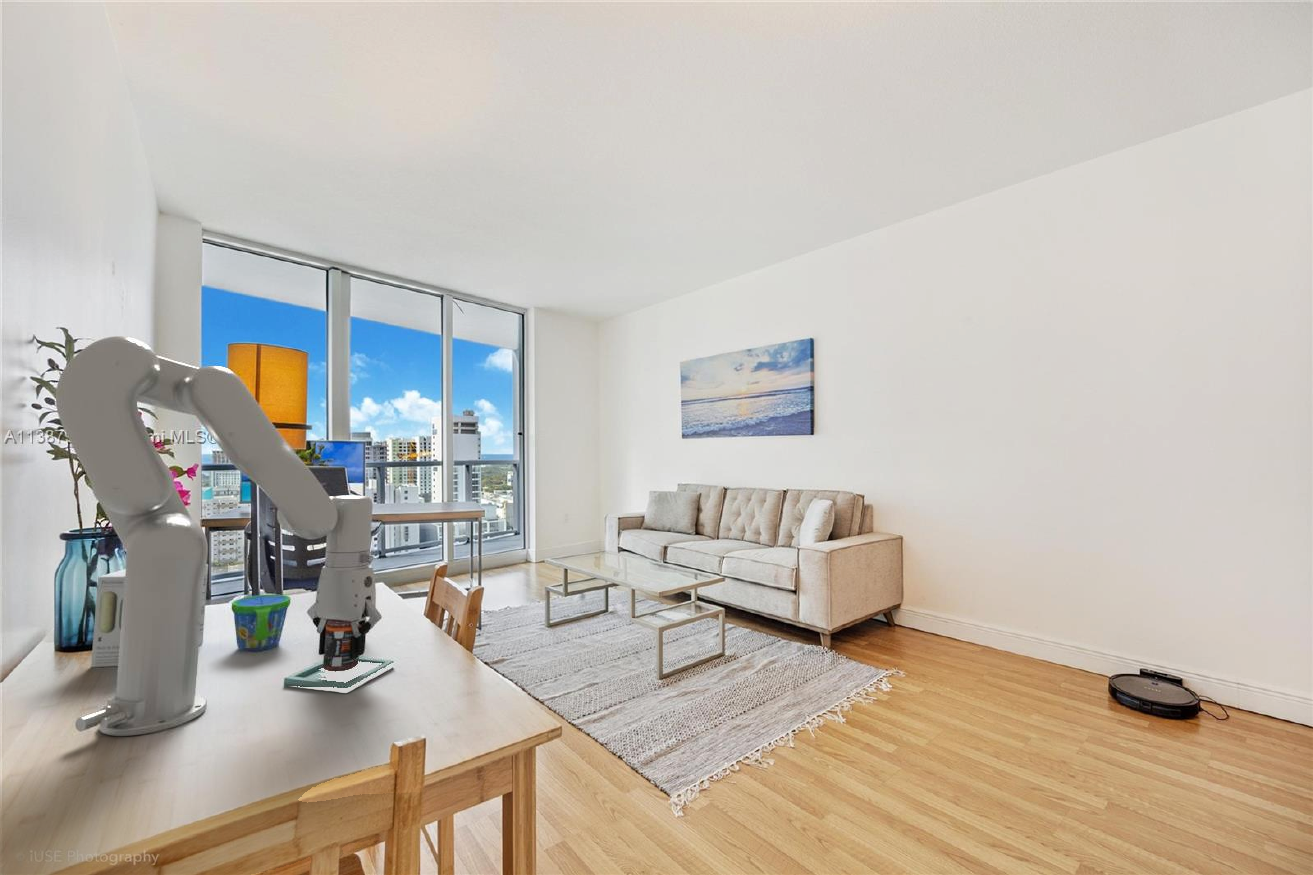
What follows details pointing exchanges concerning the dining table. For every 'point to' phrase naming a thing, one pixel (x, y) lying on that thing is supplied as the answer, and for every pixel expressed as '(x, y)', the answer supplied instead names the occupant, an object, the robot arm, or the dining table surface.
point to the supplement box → (117, 618)
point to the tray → (310, 677)
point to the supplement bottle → (338, 646)
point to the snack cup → (259, 621)
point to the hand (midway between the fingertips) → (341, 653)
